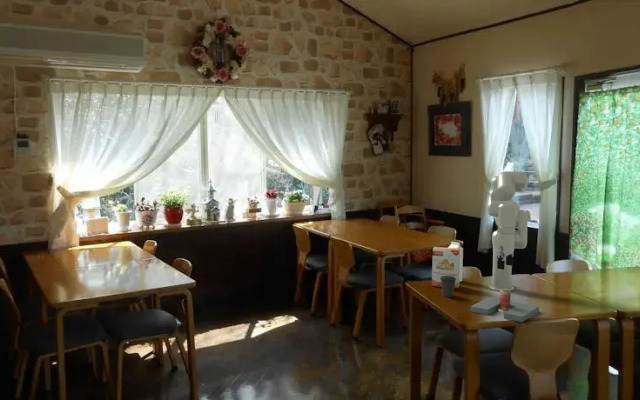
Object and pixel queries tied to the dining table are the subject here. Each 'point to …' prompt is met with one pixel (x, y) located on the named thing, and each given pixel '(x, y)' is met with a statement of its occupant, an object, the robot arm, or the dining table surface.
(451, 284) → the coffee cup
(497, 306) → the notched board
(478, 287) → the dining table surface
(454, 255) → the cracker box
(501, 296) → the bobbin
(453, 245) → the milk
